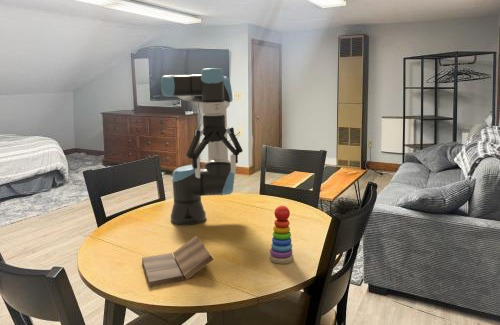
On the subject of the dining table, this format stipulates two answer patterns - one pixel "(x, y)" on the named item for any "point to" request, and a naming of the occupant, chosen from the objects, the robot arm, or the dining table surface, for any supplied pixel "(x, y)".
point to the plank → (192, 257)
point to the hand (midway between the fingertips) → (215, 175)
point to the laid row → (161, 270)
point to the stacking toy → (281, 237)
